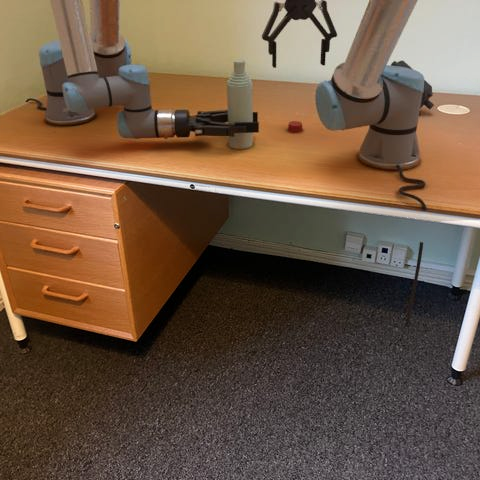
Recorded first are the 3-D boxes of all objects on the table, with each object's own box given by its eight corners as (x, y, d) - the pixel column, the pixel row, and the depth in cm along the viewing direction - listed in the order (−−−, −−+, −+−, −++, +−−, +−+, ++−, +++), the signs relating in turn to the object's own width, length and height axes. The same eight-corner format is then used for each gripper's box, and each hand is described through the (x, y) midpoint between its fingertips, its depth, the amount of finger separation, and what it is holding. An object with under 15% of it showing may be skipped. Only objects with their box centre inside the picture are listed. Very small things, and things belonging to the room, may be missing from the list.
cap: (285, 129, 159) (285, 122, 158) (296, 126, 161) (296, 120, 160) (293, 133, 156) (293, 126, 155) (304, 130, 158) (305, 124, 156)
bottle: (257, 143, 150) (257, 59, 138) (243, 150, 146) (242, 65, 133) (237, 138, 154) (236, 56, 141) (223, 145, 149) (220, 61, 137)
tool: (372, 91, 179) (399, 54, 168) (415, 128, 175) (445, 93, 164) (364, 95, 175) (390, 58, 165) (407, 134, 171) (437, 98, 160)
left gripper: (179, 124, 157) (256, 122, 157) (172, 150, 140) (259, 149, 140) (177, 99, 153) (256, 97, 153) (170, 123, 136) (259, 121, 136)
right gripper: (344, -23, 141) (339, 60, 152) (251, -19, 139) (252, 64, 150) (352, -20, 134) (346, 66, 145) (254, -17, 133) (255, 70, 144)
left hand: (258, 122), depth 146 cm, fingers open, 7 cm apart
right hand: (298, 65), depth 148 cm, fingers open, 13 cm apart
